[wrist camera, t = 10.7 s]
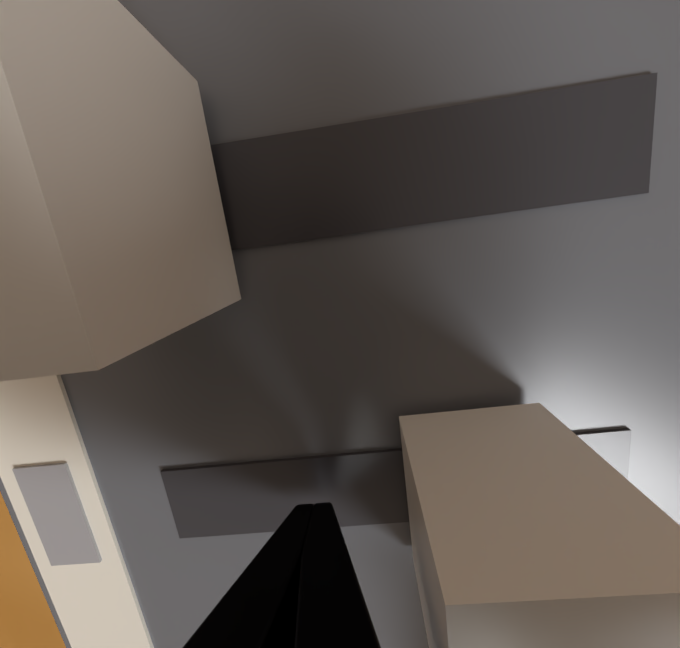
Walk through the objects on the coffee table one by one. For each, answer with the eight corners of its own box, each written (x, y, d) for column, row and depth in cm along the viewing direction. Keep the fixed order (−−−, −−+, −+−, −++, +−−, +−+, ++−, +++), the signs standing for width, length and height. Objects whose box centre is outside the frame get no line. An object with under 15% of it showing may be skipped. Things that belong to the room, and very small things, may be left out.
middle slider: (539, 402, 7) (751, 588, 3) (538, 554, 8) (705, 838, 4) (398, 416, 7) (445, 605, 4) (413, 561, 8) (463, 839, 4)
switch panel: (691, -99, 7) (875, -286, 5) (624, 693, 13) (693, 809, 10) (-58, 49, 9) (-235, -34, 6) (171, 708, 14) (129, 813, 12)
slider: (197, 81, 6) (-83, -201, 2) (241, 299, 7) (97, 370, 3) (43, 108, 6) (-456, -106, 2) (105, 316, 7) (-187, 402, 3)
